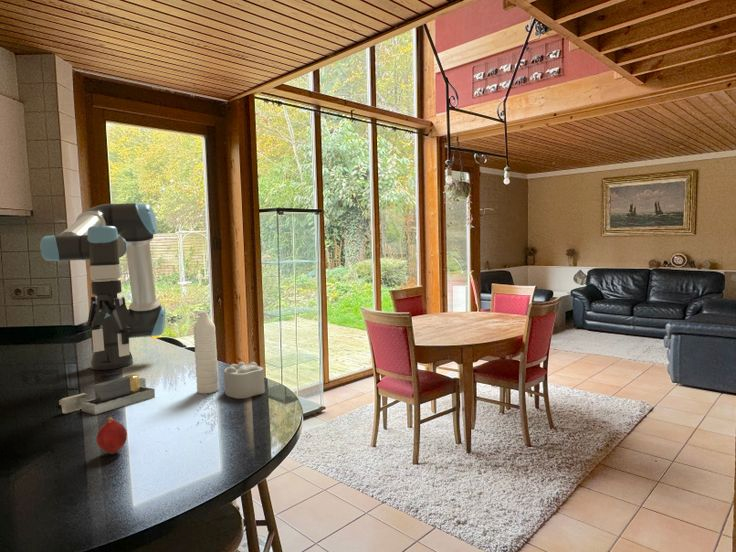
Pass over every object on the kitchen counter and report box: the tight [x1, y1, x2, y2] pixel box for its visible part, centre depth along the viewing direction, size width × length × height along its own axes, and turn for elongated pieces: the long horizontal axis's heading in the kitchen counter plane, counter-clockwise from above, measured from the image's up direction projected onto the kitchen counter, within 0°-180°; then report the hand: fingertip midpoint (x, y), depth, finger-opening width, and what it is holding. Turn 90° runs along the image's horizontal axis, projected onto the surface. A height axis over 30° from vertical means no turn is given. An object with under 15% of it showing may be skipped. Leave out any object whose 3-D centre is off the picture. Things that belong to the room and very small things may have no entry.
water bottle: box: [193, 309, 220, 395], centre depth 151 cm, size 9×6×25 cm
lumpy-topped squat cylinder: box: [223, 361, 266, 400], centre depth 149 cm, size 10×13×9 cm
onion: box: [96, 417, 128, 455], centre depth 105 cm, size 6×6×8 cm
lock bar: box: [94, 374, 140, 404], centre depth 141 cm, size 12×4×7 cm, turn 147°
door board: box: [58, 377, 156, 416], centre depth 144 cm, size 24×19×4 cm
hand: (111, 353), depth 140 cm, fingers open, 13 cm apart
